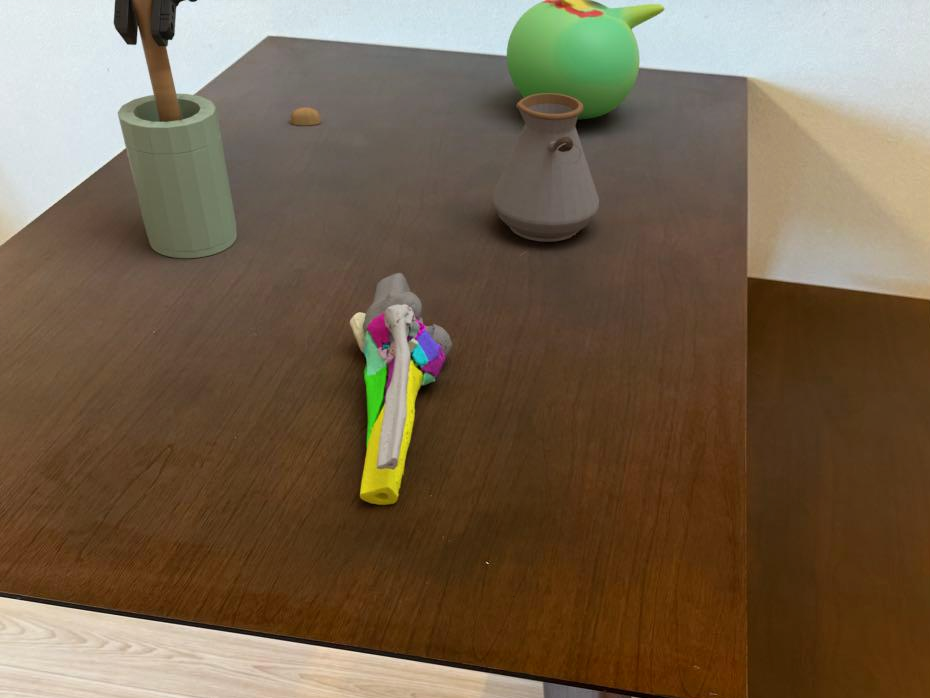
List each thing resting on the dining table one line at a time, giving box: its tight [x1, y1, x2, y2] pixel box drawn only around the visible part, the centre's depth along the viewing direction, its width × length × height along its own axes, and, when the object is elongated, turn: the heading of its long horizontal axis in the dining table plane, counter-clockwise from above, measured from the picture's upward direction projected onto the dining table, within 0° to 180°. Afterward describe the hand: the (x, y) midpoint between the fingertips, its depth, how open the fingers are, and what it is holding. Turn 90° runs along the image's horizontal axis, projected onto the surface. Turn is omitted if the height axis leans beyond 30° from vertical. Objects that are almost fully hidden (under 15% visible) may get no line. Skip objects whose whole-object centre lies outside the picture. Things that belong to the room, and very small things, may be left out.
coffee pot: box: [492, 93, 600, 243], centre depth 97 cm, size 21×12×15 cm, turn 4°
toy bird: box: [506, 0, 666, 120], centre depth 125 cm, size 18×17×15 cm
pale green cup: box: [117, 93, 238, 259], centre depth 96 cm, size 9×9×13 cm
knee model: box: [349, 272, 453, 506], centre depth 78 cm, size 9×8×25 cm
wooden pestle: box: [132, 0, 182, 122], centre depth 90 cm, size 4×4×20 cm
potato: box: [289, 106, 322, 126], centre depth 124 cm, size 3×4×2 cm, turn 99°
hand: (143, 40), depth 85 cm, fingers closed on wooden pestle, 2 cm apart
